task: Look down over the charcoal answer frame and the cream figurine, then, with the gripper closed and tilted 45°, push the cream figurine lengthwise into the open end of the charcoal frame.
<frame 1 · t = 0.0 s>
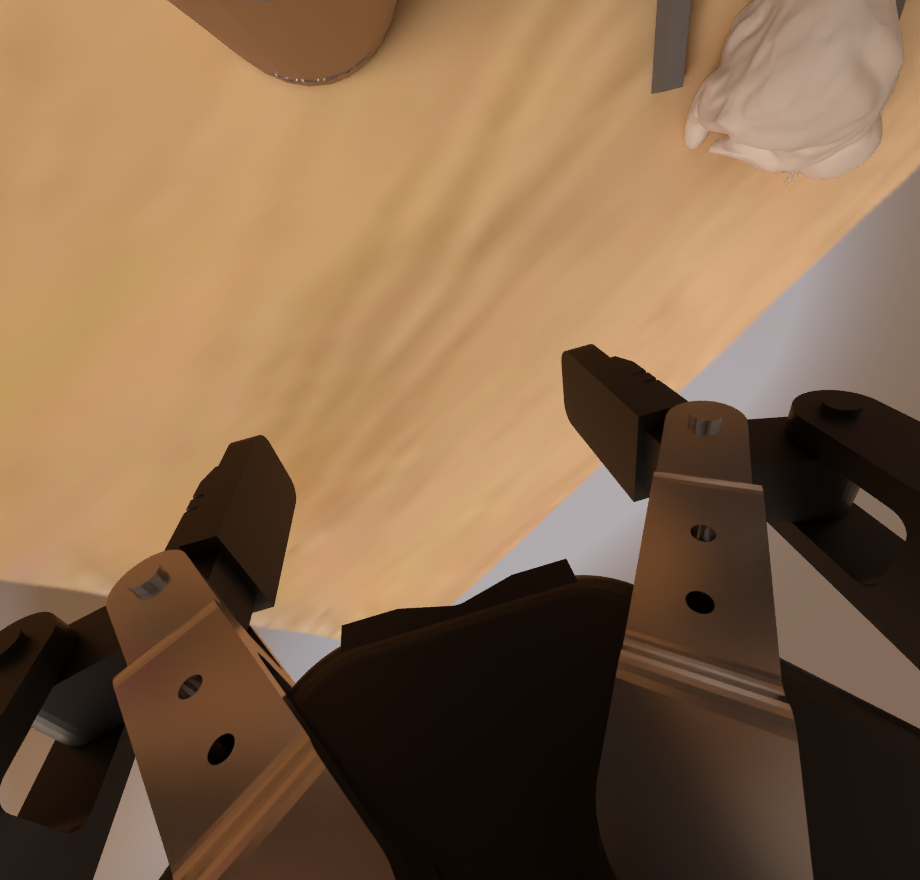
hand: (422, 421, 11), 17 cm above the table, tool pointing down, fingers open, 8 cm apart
cream figurine: (750, 111, 24), on the table
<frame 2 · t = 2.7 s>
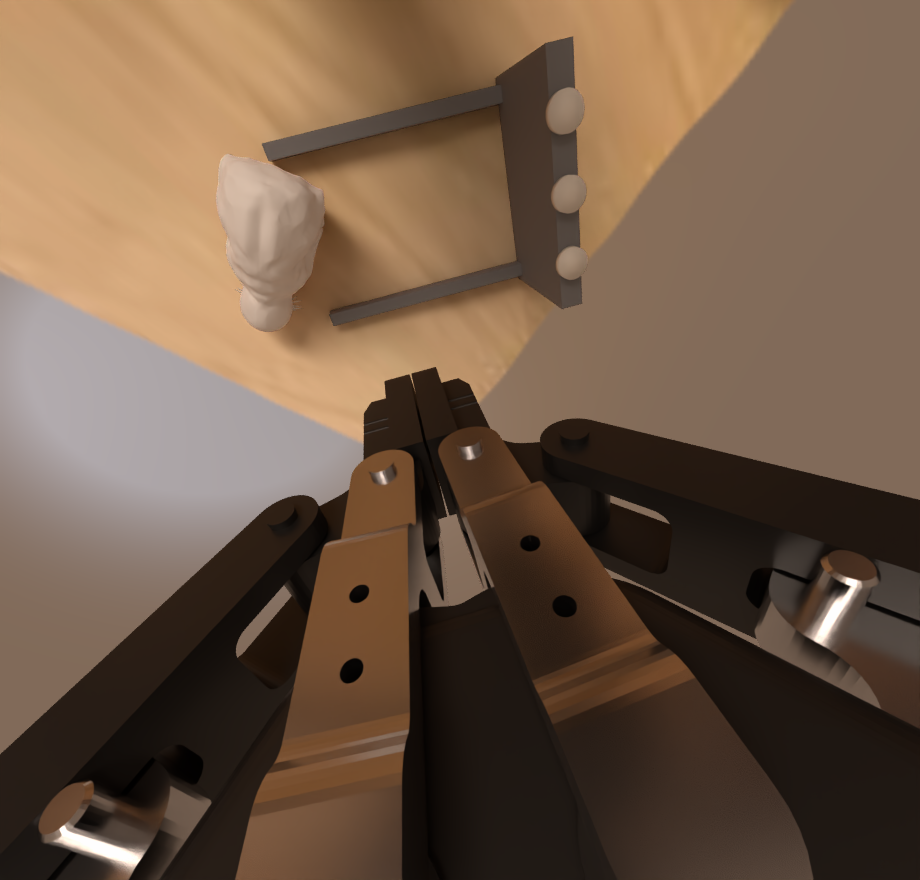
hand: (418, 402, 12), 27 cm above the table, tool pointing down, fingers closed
cream figurine: (279, 249, 33), on the table
answer frame: (401, 217, 33), on the table
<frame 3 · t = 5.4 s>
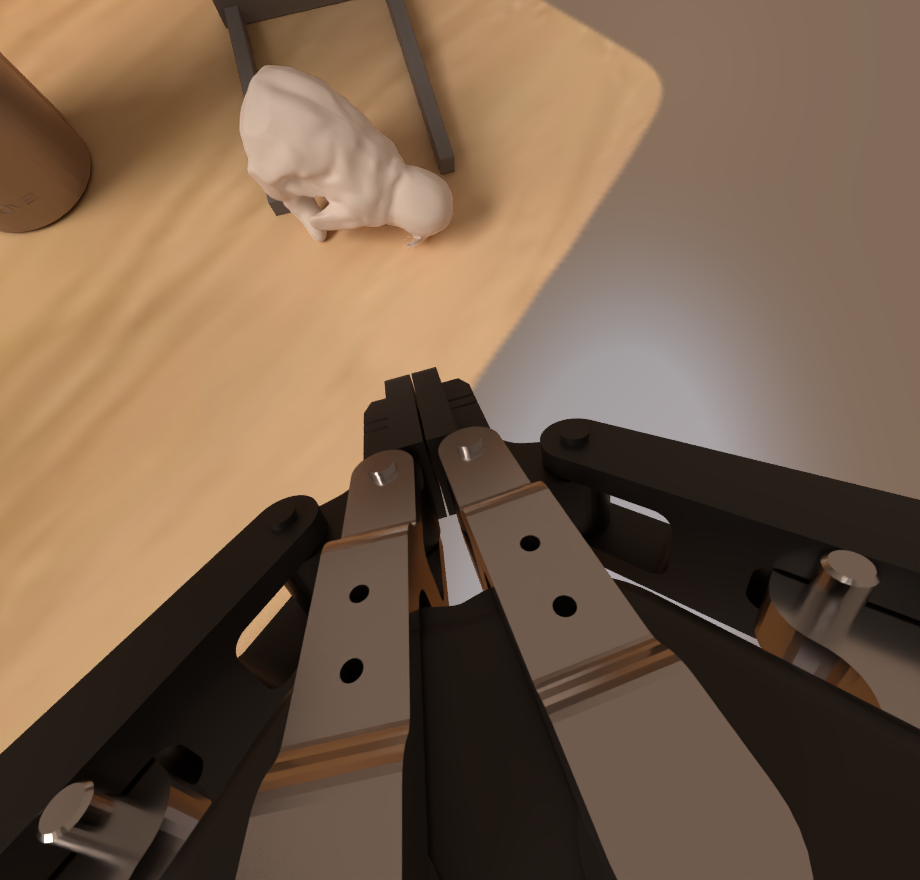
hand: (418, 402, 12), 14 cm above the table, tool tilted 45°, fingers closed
cream figurine: (373, 220, 29), on the table
answer frame: (340, 101, 31), on the table
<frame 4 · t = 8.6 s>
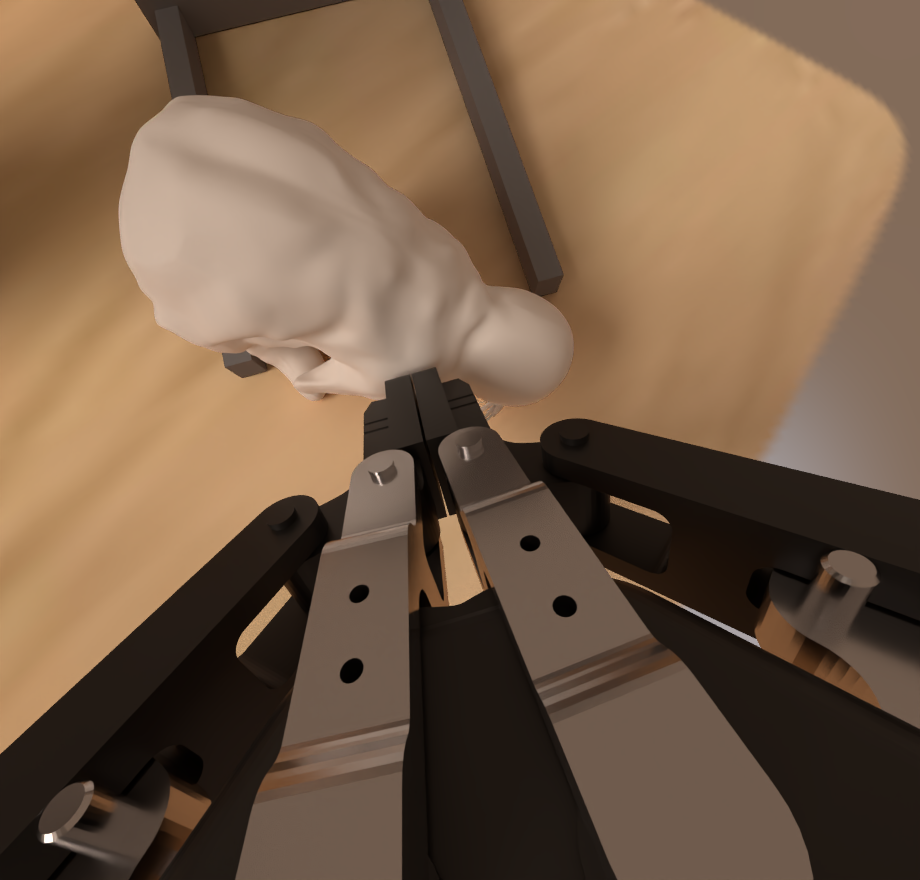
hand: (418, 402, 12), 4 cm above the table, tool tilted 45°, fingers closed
cream figurine: (409, 353, 17), on the table, touching gripper
answer frame: (355, 167, 18), on the table
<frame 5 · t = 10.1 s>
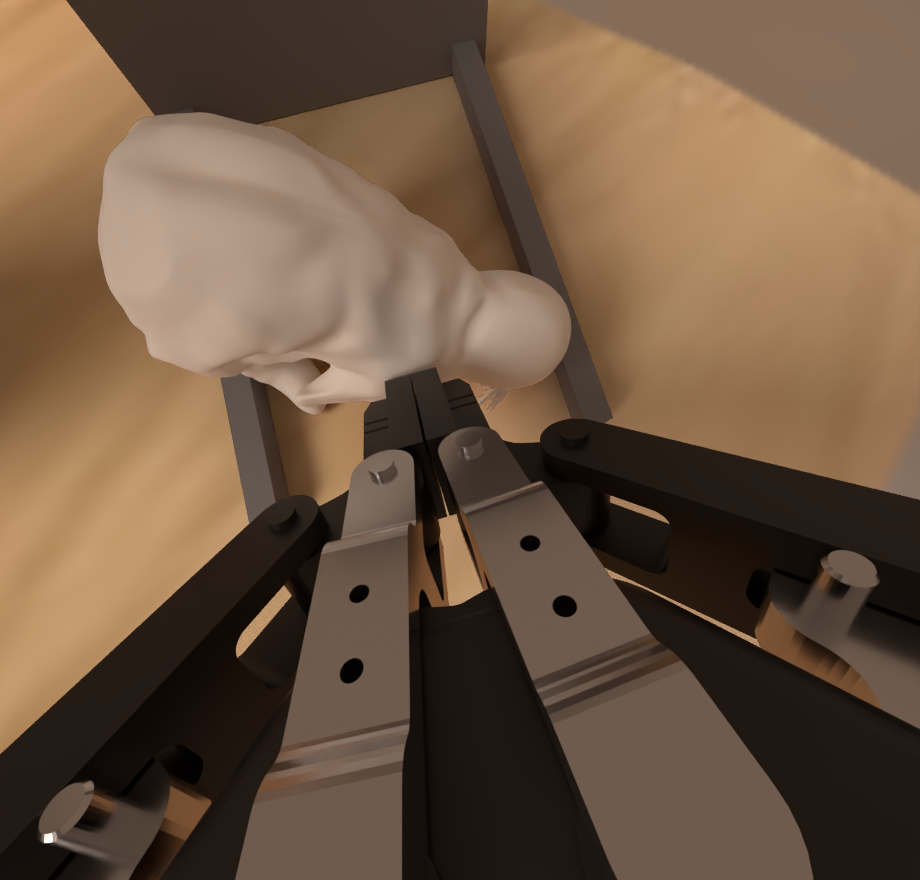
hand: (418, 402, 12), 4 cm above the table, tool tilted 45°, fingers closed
cream figurine: (403, 353, 16), on the table, touching gripper
answer frame: (383, 283, 17), on the table
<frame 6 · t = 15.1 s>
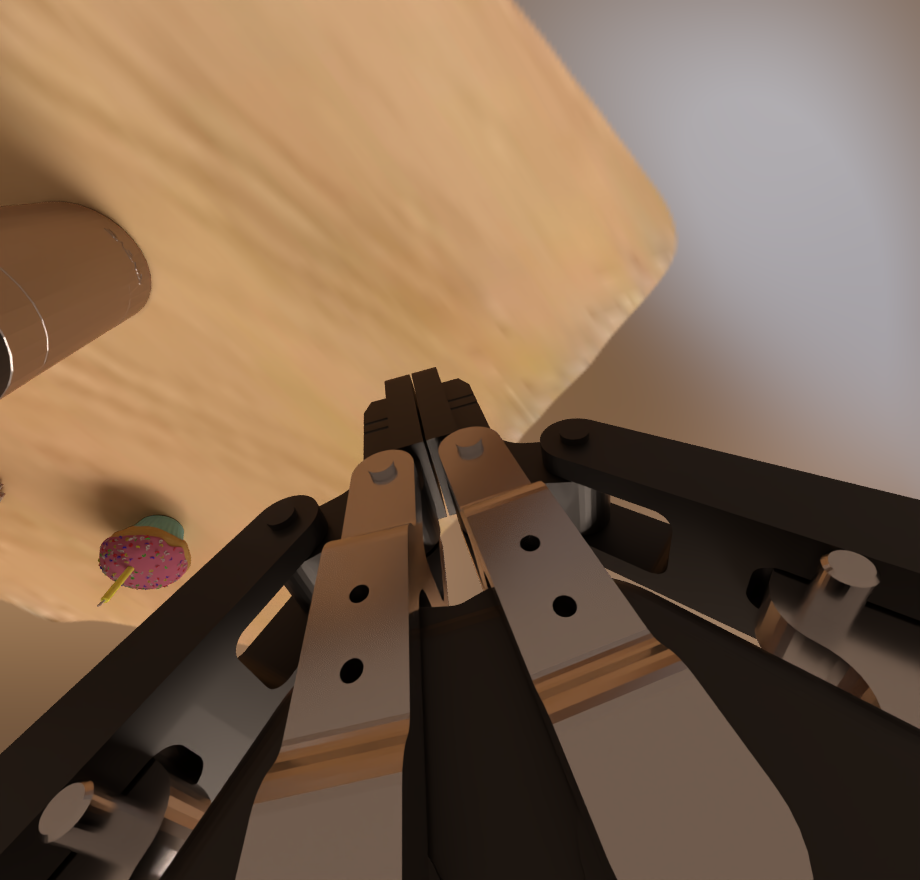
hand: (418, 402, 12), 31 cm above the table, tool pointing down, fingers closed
cupcake: (163, 528, 50), on the table
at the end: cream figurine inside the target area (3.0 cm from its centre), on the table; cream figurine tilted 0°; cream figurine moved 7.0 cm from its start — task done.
